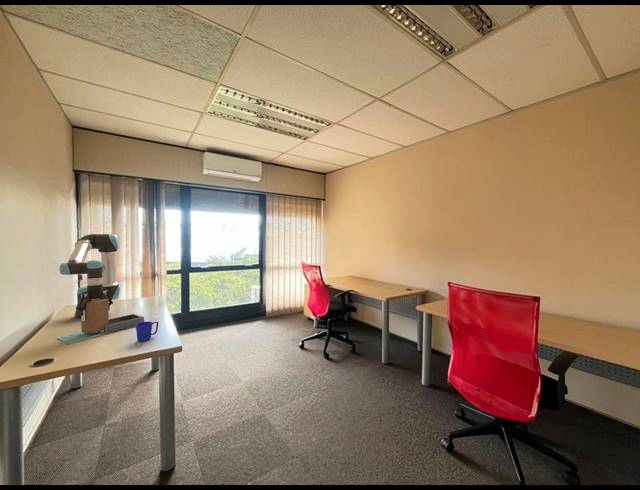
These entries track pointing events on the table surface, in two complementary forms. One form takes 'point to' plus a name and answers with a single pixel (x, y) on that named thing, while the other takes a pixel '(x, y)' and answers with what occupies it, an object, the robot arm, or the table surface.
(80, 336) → the pad
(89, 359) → the table surface
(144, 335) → the mug
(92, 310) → the wooden block
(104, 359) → the table surface
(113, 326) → the chute
